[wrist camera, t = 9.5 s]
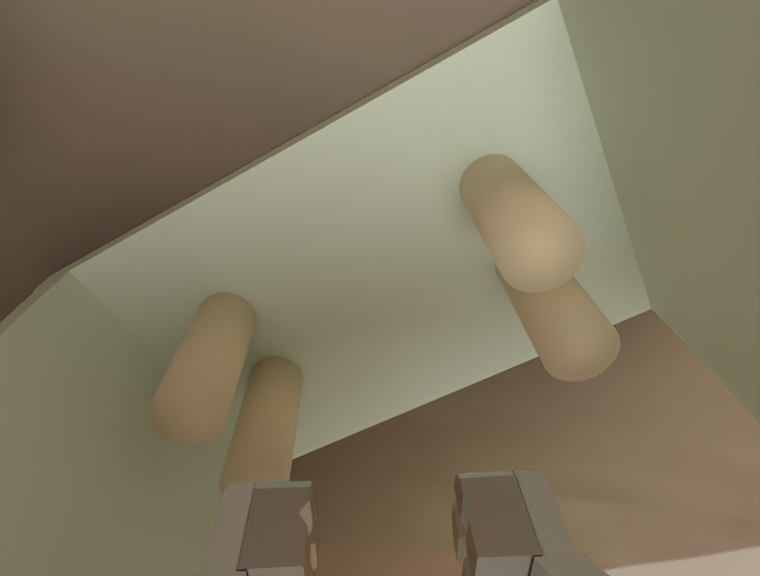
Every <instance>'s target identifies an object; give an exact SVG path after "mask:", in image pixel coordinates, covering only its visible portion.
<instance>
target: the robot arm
mask: <svg viewBox="0 0 760 576" xmlns="http://www.w3.org/2000/svg"><path fill="white" fill-rule="evenodd" d="M454 489H455V494H456V499H457V501H456V502H455V503H454V504H453V511H452V526H453V538H454V546H455V552H456V558H457V560H458V561H459V562H460V563H461V564H462V565H463V572H462V576H609V575H608V574H607V573H606V572H605V571H604V570H602V569H601V568H600V567H599V566H598V565H597V564H596V563H595V562H593V561H592V560H591V559H590V558H589V557H588V556H587V555H577V554H576V552H575V549H574V547H573V544H572V542H571V539H570V537H569V534H568V532H567V529H566V527H565V524H564V522H563V519H562V517H561V515H560V512H559V510H558V507H557V505H556V502H555V500H554V497H553V495H552V492H551V490H550V487H549V485H548V482H547V480H546V478H545V475H544V474H543V473H542V472H541V471H540V470H525V471H512V472H511V471H494V472H476V473H459V474H457V475H456V477H455V485H454ZM314 507H315V487H314V481H269V482H234V483H228V484H227V486H226V488H225V489H224V491H223V494H222V498H221V501H220V505H219V509H218V512H217V516H216V520H215V523H214V527H213V531H212V534H211V538H210V542H209V545H208V549H207V553H206V556H205V560H204V564H203V567H202V571H201V573H192V574H191V575H190V576H314V570H315V569H316V567H317V566H318V549H319V526H318V512H317V510H316V509H315V508H314Z"/></svg>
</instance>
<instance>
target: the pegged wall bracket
mask: <svg viewBox="0 0 760 576" xmlns="http://www.w3.org/2000/svg"><path fill="white" fill-rule="evenodd" d="M650 309H652V310H653V311H654V312H655V313H656V314H657V315H658V316H659V318H660V319H661V320H662V321H663V322H664V323H665V324H666V325H667V326H668V327H669V328H670V329H671V330H672V331H673V332H674V333H675V334H676V335H677V336H678V337H679V338H680V339H681V341H682V342H683V343H684V344H685V345H686V346H687V347H688V348H689V349H690V350H691V351H692V352H693V353H694V354H695V355H696V356H697V357H698V358H699V359H700V360H701V361H702V362H703V363H704V365H705V366H706V367H707V368H708V369H709V370H710V371H711V372H712V373H713V374H714V375H715V376H716V377H717V378H718V379H719V380H720V381H721V382H722V383H723V384H724V385H725V386H726V388H727V389H728V390H729V391H730V392H731V393H732V394H733V395H734V396H735V397H736V398H737V399H738V400H739V401H740V402H741V403H742V404H743V405H744V406H745V407H746V408H747V409H748V411H749V412H750V413H751V414H752V415H753V416H754V417H755V418H756V419H757V420H758V421H759V422H760V0H537V1H535V2H534V3H532V4H530V5H528V6H527V7H525V8H523V9H521V10H519V11H518V12H516V13H514V14H512V15H511V16H509V17H507V18H505V19H503V20H502V21H500V22H498V23H496V24H495V25H493V26H491V27H489V28H488V29H486V30H484V31H482V32H480V33H479V34H477V35H475V36H473V37H472V38H470V39H468V40H466V41H465V42H463V43H461V44H459V45H457V46H456V47H454V48H452V49H450V50H449V51H447V52H445V53H443V54H442V55H440V56H438V57H436V58H434V59H433V60H431V61H429V62H427V63H426V64H424V65H422V66H420V67H419V68H417V69H415V70H413V71H411V72H410V73H408V74H406V75H404V76H403V77H401V78H399V79H397V80H395V81H394V82H392V83H390V84H388V85H387V86H385V87H383V88H381V89H380V90H378V91H376V92H374V93H372V94H371V95H369V96H367V97H365V98H364V99H362V100H360V101H358V102H357V103H355V104H353V105H351V106H349V107H348V108H346V109H344V110H342V111H341V112H339V113H337V114H335V115H334V116H332V117H330V118H328V119H326V120H325V121H323V122H321V123H319V124H318V125H316V126H314V127H312V128H311V129H309V130H307V131H305V132H303V133H302V134H300V135H298V136H296V137H295V138H293V139H291V140H289V141H287V142H286V143H284V144H282V145H280V146H279V147H277V148H275V149H273V150H272V151H270V152H268V153H266V154H264V155H263V156H261V157H259V158H257V159H256V160H254V161H252V162H250V163H249V164H247V165H245V166H243V167H241V168H240V169H238V170H236V171H234V172H233V173H231V174H229V175H227V176H226V177H224V178H222V179H220V180H218V181H217V182H215V183H213V184H211V185H210V186H208V187H206V188H204V189H203V190H201V191H199V192H197V193H195V194H194V195H192V196H190V197H188V198H187V199H185V200H183V201H181V202H179V203H178V204H176V205H174V206H172V207H171V208H169V209H167V210H165V211H164V212H162V213H160V214H158V215H156V216H155V217H153V218H151V219H149V220H148V221H146V222H144V223H142V224H141V225H139V226H137V227H135V228H133V229H132V230H130V231H128V232H126V233H125V234H123V235H121V236H119V237H118V238H116V239H114V240H112V241H110V242H109V243H107V244H105V245H103V246H102V247H100V248H98V249H96V250H95V251H93V252H91V253H89V254H87V255H86V256H84V257H82V258H80V259H79V260H77V261H75V262H73V263H71V264H70V265H68V266H66V267H64V268H63V269H61V270H59V271H57V272H56V273H54V274H52V275H50V276H49V277H48V278H47V279H46V280H45V281H44V282H43V283H41V284H40V285H39V286H38V287H37V288H36V289H35V290H34V292H33V293H32V294H31V295H30V296H29V297H28V298H27V299H26V300H25V301H23V302H22V303H21V304H20V305H19V306H18V307H17V308H16V309H15V310H13V311H12V312H11V313H10V314H9V315H8V316H7V317H6V318H5V319H3V320H2V321H1V322H0V576H190V575H191V574H192V573H201V571H202V567H203V564H204V560H205V556H206V553H207V549H208V545H209V542H210V538H211V534H212V531H213V527H214V523H215V520H216V516H217V512H218V509H219V505H220V501H221V498H222V494H223V491H224V489H225V488H226V486H227V484H228V483H234V482H269V481H289V479H290V472H291V465H292V460H293V459H295V458H297V457H300V456H302V455H304V454H307V453H309V452H312V451H314V450H316V449H319V448H321V447H324V446H326V445H328V444H331V443H333V442H335V441H338V440H340V439H343V438H345V437H347V436H350V435H352V434H355V433H357V432H359V431H362V430H364V429H366V428H369V427H371V426H374V425H376V424H378V423H381V422H383V421H386V420H388V419H390V418H393V417H395V416H397V415H400V414H402V413H405V412H407V411H409V410H412V409H414V408H417V407H419V406H421V405H424V404H426V403H428V402H431V401H433V400H436V399H438V398H440V397H443V396H445V395H448V394H450V393H452V392H455V391H457V390H459V389H462V388H464V387H467V386H469V385H471V384H474V383H476V382H479V381H481V380H483V379H486V378H488V377H490V376H493V375H495V374H498V373H500V372H502V371H505V370H507V369H510V368H512V367H514V366H517V365H519V364H521V363H524V362H526V361H529V360H531V359H533V358H536V357H538V356H539V358H540V360H541V362H542V364H543V366H544V368H545V369H546V371H547V372H548V373H549V374H550V375H551V376H553V377H554V378H556V379H558V380H562V381H566V382H579V381H584V380H588V379H591V378H593V377H596V376H598V375H599V374H601V373H602V372H604V371H605V370H606V369H608V368H609V367H610V366H611V365H612V363H613V362H614V361H615V359H616V358H617V356H618V353H619V351H620V345H621V342H620V336H619V334H618V332H617V330H616V329H615V327H614V326H613V325H614V324H617V323H619V322H622V321H624V320H626V319H629V318H631V317H634V316H636V315H638V314H641V313H643V312H645V311H648V310H650Z"/></svg>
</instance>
